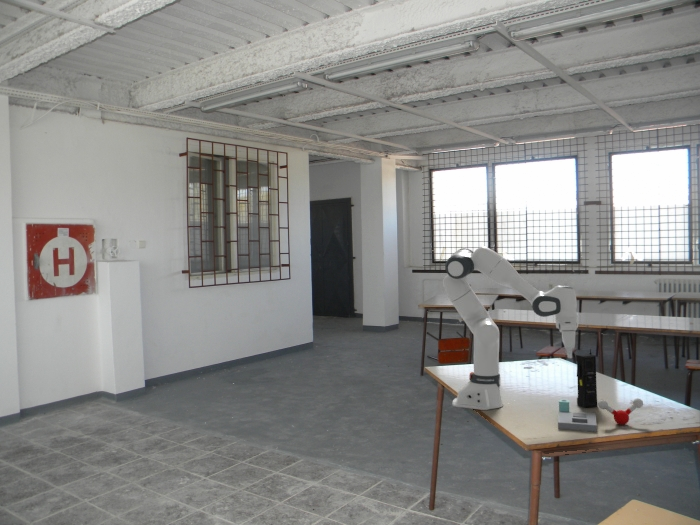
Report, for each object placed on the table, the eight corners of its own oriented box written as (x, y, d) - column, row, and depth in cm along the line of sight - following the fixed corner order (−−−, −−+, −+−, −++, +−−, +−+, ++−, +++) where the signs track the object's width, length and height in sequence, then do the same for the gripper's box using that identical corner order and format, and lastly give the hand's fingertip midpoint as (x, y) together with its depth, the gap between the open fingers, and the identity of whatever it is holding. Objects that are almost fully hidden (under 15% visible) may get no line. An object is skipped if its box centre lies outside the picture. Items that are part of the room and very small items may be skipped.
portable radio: (583, 408, 256) (582, 351, 255) (574, 405, 261) (573, 349, 261) (598, 407, 258) (597, 350, 257) (589, 403, 264) (588, 348, 263)
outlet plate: (558, 428, 230) (557, 421, 230) (559, 417, 245) (558, 410, 245) (596, 431, 225) (596, 424, 225) (595, 419, 240) (595, 413, 240)
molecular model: (640, 421, 236) (640, 397, 235) (647, 426, 230) (646, 400, 230) (596, 422, 236) (595, 398, 236) (601, 427, 230) (601, 401, 230)
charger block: (559, 415, 247) (558, 401, 247) (559, 413, 250) (559, 398, 250) (569, 416, 245) (569, 401, 245) (569, 413, 249) (569, 399, 249)
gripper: (557, 320, 260) (559, 351, 260) (560, 327, 240) (562, 360, 241) (572, 320, 258) (574, 351, 258) (576, 326, 239) (579, 360, 239)
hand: (568, 355), depth 249 cm, fingers open, 8 cm apart
